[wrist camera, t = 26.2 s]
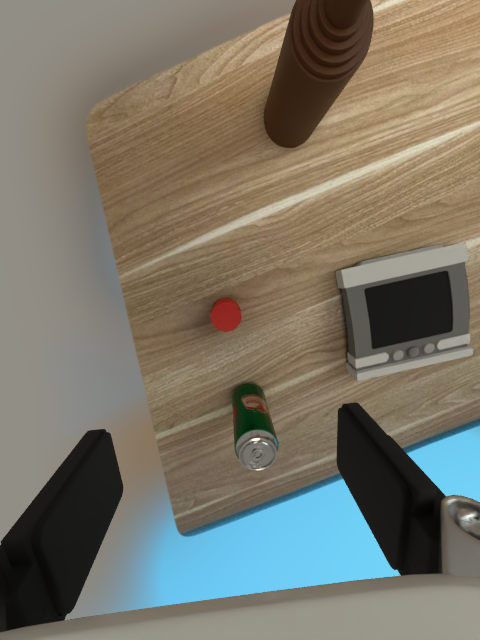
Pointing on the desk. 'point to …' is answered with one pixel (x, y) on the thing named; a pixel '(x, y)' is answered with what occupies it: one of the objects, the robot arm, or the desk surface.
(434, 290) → the alarm clock
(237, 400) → the soda can
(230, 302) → the cap
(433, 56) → the desk surface
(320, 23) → the bottle
